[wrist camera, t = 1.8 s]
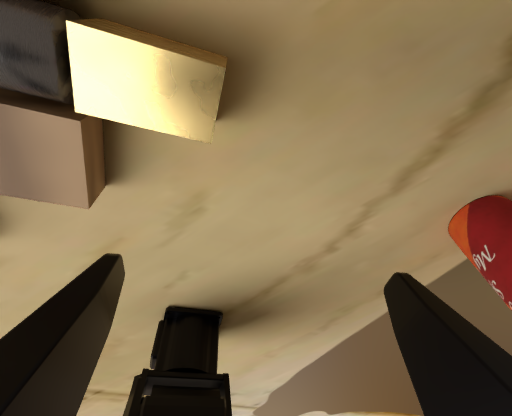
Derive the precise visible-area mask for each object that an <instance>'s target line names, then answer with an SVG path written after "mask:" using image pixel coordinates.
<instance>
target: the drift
mask: <svg viewBox="0 0 512 416" xmlns="http://www.w3.org/2000/svg"><path fill="white" fill-rule="evenodd" d="M66 27H67V37H68V46H69V56H70V66H71V76H72V86H73V96H74V105H75V112H78V113H82V114H86V115H91V116H95V117H99V118H103V119H108V120H112V121H116V122H120V123H125V124H129V125H133V126H137V127H142V128H146V129H150V130H154V131H159V132H163V133H167V134H171V135H176V136H180V137H184V138H188V139H193V140H197V141H201V142H205V143H210V144H211V142H212V137H213V132H214V127H215V121H216V116H217V111H218V106H219V101H220V96H221V91H222V86H223V81H224V76H225V71H226V64H227V57H225V56H222V55H219V54H215V53H212V52H209V51H206V50H202V49H199V48H196V47H193V46H189V45H186V44H183V43H180V42H176V41H173V40H170V39H167V38H163V37H160V36H157V35H154V34H150V33H147V32H144V31H141V30H137V29H134V28H131V27H128V26H124V25H121V24H118V23H115V22H112V21H108V20H105V19H102V18H98V19H80V20H66Z"/></svg>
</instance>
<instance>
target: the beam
mask: <svg viewBox="0 0 512 416" xmlns="http://www.w3.org/2000/svg"><path fill="white" fill-rule="evenodd" d="M105 186H106V182H105V162H104V142H103V122H102V118H99V117H95V116H91V115H86V114H82V113H78V112H75V105H74V104H66V103H62V102H58V101H54V100H49V99H45V98H41V97H37V96H33V95H28V94H24V93H20V92H16V91H11V90H7V89H3V88H0V195H5V196H11V197H17V198H23V199H29V200H35V201H41V202H47V203H54V204H60V205H66V206H72V207H78V208H84V209H89V208H90V207H91V206H92V204H93V203H94V201H95V200H96V199H97V197H98V196H99V195H100V193H101V192H102V190H103V189H104V188H105Z"/></svg>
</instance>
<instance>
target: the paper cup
mask: <svg viewBox="0 0 512 416" xmlns="http://www.w3.org/2000/svg"><path fill="white" fill-rule="evenodd" d="M448 232H449V234H450V236H451V237H452V239H453V240H454V241H455V243H456V244H457V245H458V247H459V248H460V249H461V250H462V252H463V253H464V254H465V255H466V256H467V258H468V259H469V260H470V261H471V262H472V264H473V265H474V266H475V267H476V268H477V270H478V271H479V272H480V273H481V274H482V276H483V277H484V278H485V279H486V280H487V282H488V283H489V284H490V285H491V286H492V288H493V289H494V290H495V291H496V293H497V294H498V295H499V296H500V297H501V298H502V300H503V301H504V302H505V303H506V304H507V306H508V307H509V308H510V309H511V310H512V201H511V200H509V199H507V198H505V197H503V196H498V195H491V196H485V197H482V198H479V199H476V200H474V201H472V202H470V203H469V204H467V205H465V206H464V207H463V208H461V209H460V210H459V211H458V212H457V213H456V214H455V215H454V217H453V218H452V219H451V221H450V223H449V227H448Z"/></svg>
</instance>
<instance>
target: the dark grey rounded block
mask: <svg viewBox="0 0 512 416" xmlns="http://www.w3.org/2000/svg"><path fill="white" fill-rule="evenodd" d="M80 19H81V18H80V17H79V16H78V15H77V14H76V13H75V12H74V11H72V10H69V9H66V8H63V7H60V6H56V5H53V4H50V3H46V2H43V1H40V0H0V88H3V89H7V90H11V91H16V92H20V93H24V94H28V95H33V96H37V97H41V98H45V99H49V100H54V101H58V102H62V103H66V104H74V96H73V86H72V76H71V66H70V56H69V46H68V37H67V27H66V20H80Z"/></svg>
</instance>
